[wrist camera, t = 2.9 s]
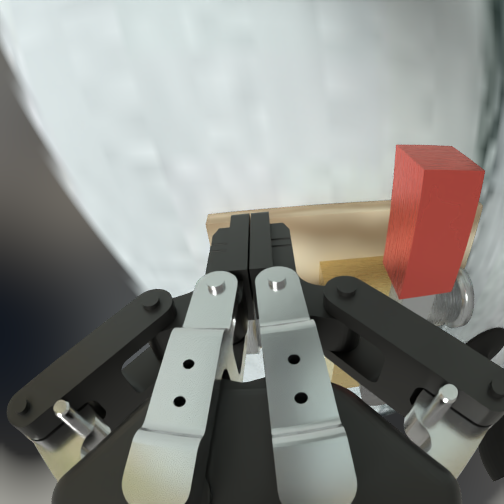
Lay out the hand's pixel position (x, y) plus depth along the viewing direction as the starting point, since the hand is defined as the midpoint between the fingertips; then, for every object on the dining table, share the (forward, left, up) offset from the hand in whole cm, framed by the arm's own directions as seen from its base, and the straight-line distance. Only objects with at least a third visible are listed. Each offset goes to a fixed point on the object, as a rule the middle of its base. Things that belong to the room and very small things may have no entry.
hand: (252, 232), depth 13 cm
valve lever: (+5, +8, -1) cm, 9 cm away
